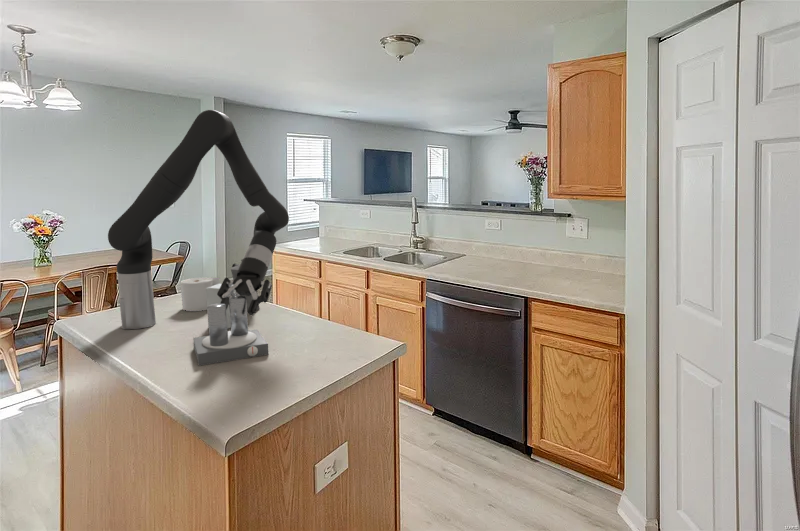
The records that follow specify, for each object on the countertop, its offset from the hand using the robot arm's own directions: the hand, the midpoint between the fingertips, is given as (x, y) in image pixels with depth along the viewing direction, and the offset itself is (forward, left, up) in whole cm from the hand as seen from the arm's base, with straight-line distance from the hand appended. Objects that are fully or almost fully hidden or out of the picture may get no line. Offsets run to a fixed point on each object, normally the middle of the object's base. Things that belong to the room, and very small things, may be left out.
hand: (235, 313), depth 132 cm
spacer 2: (+1, +1, -6) cm, 6 cm away
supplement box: (0, +24, -10) cm, 26 cm away
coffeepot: (+9, +41, -10) cm, 43 cm away
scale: (-2, -2, -10) cm, 10 cm away
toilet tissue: (-5, +51, -10) cm, 52 cm away
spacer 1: (-5, -5, -6) cm, 10 cm away
